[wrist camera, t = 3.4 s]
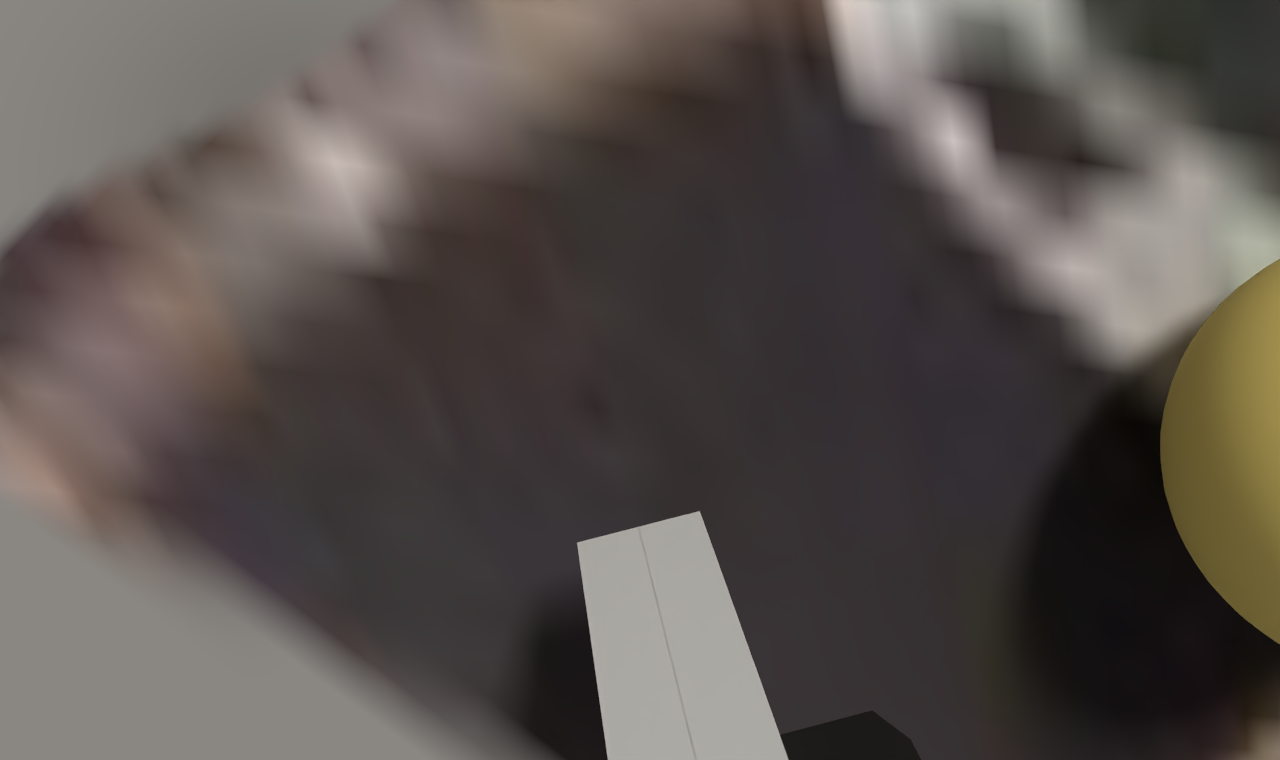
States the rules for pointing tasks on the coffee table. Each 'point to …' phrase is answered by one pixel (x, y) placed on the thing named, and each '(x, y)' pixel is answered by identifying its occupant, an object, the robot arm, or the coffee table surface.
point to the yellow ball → (1231, 450)
